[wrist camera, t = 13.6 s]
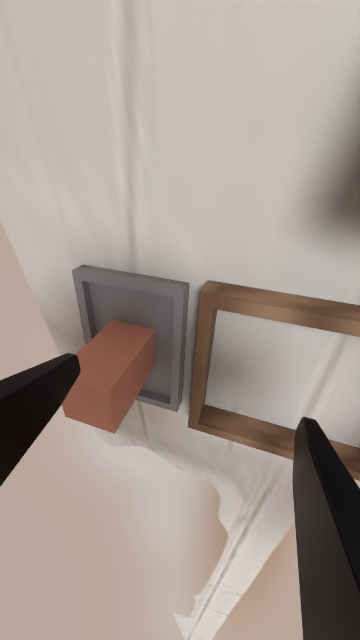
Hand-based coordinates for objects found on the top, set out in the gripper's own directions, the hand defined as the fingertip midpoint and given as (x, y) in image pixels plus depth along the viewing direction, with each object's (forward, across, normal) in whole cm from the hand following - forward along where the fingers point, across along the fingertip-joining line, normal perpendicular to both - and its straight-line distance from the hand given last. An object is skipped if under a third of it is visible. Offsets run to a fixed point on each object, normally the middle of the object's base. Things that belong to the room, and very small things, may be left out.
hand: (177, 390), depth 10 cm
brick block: (+11, +8, +8) cm, 16 cm away
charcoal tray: (+12, +8, +8) cm, 16 cm away
